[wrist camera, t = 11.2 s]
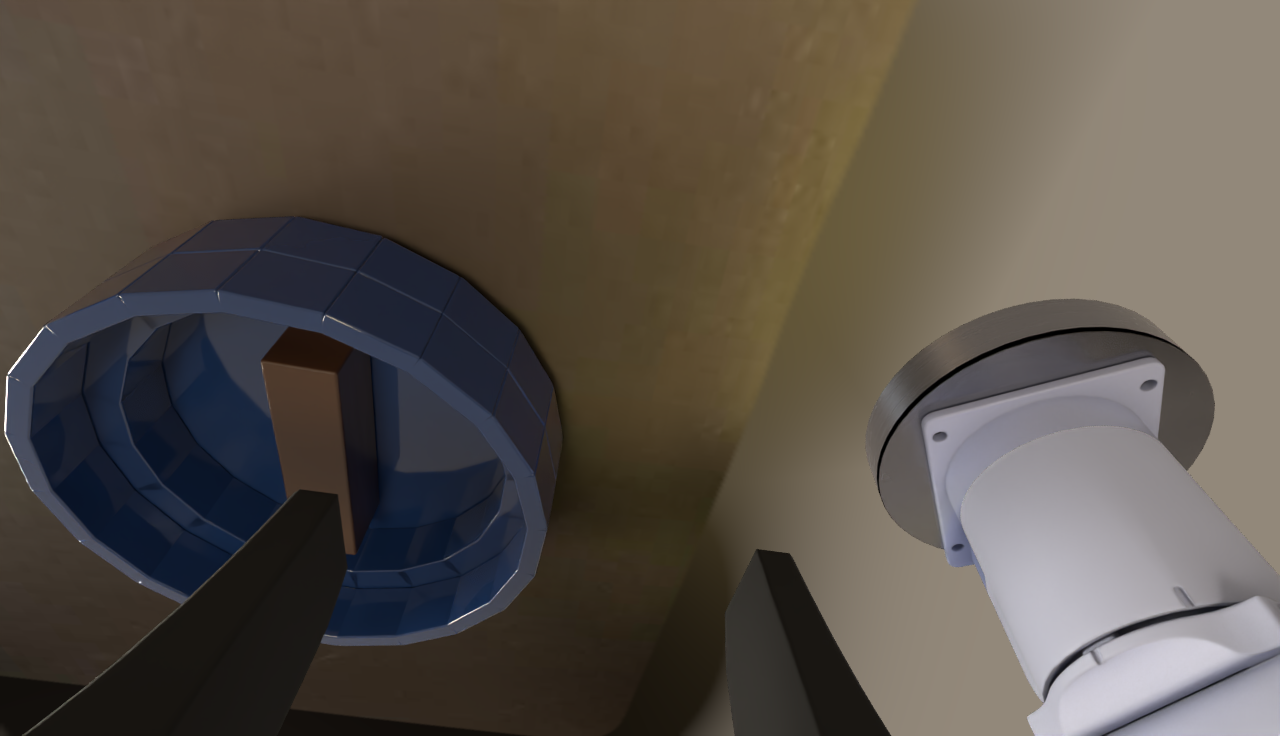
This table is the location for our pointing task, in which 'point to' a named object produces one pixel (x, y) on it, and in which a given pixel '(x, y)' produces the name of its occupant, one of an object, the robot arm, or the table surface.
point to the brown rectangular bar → (325, 423)
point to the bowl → (243, 432)
